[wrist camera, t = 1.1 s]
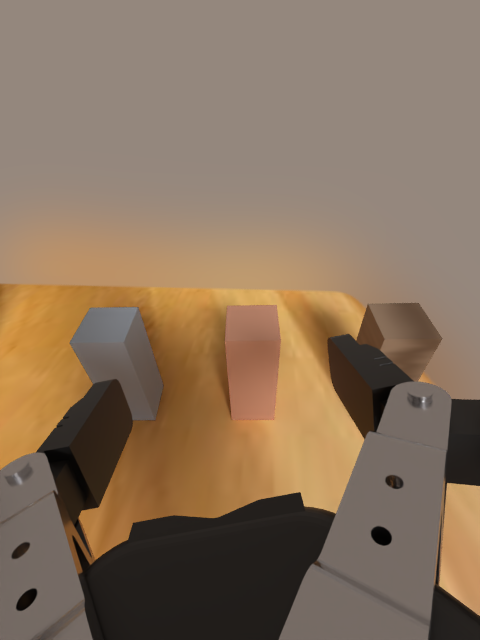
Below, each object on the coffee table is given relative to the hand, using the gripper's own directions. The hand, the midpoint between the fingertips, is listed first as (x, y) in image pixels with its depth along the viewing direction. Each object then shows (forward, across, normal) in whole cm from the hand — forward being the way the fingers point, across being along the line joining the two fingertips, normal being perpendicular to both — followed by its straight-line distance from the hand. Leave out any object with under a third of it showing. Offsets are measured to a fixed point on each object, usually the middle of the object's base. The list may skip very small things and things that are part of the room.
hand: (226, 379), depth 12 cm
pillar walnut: (+18, -13, +17) cm, 28 cm away
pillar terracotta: (+19, 0, +14) cm, 24 cm away
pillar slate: (+20, +12, +12) cm, 27 cm away
